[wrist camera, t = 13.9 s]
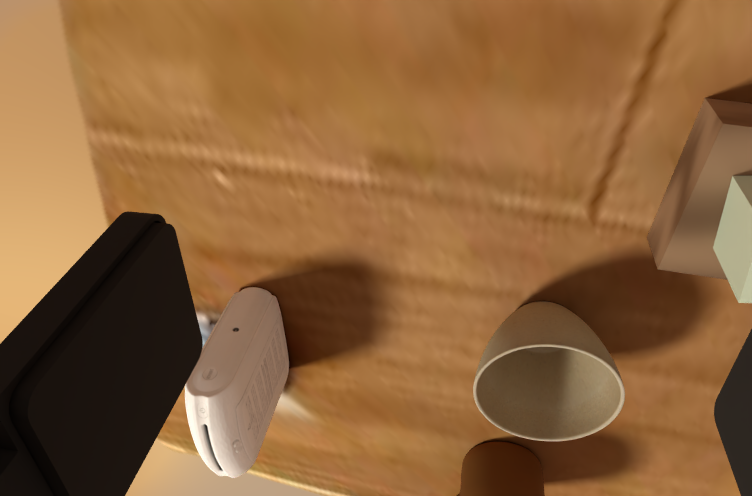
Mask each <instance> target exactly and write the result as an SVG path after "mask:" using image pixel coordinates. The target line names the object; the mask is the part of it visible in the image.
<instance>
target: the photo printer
mask: <svg viewBox="0 0 752 496" xmlns="http://www.w3.org/2000/svg"><path fill="white" fill-rule="evenodd" d="M288 371H289V357H288V350H287V344H286V338H285V332H284V327H283V321H282V316H281V312H280V308H279V304H278V301H277V298H276V296H274V295H271V293H270V292H269V291H267V290H264V289H261V288H257V287H249V288H245V289H243V290H241V291H240V292H236V293H234V295H233V296H232V297H231V299H230V301H229V302H228V304H227V306H226V307H225V309H224V311H223V313H222V315H221V316H220V318H219V320H218V322H217V323H216V325H215V327H214V329H213V331H212V332H211V334H210V336H209V338H208V339H207V341H206V343H205V345H204V347H203V348H202V352H201V355H200V358H199V360H198V362H197V364H196V366H195V368H194V370H193V371H192V373H191V375H190V377H189V379H188V381H187V382H186V385H185V404H186V411H187V417H188V422H189V426H190V430H191V434H192V437H193V440H194V443H195V445H196V448H197V450H198V452H199V454H200V456H201V457H202V459H203V461H204V462H205V463H206V465H207V466H208V467H209V468H210V469H211V470H212V471H213V472H214V473H216V474H217V475H219V476H229V477H231V478H236V477H238V476H240V475H242V474H244V473H245V472H247V471H248V470H249V469H250V468H251V467H252V465H253V464H254V462H255V461H256V458H257V456H258V453H259V451H260V448H261V445H262V443H263V440H264V437H265V435H266V432H267V429H268V427H269V424H270V421H271V419H272V416H273V414H274V411H275V408H276V406H277V403H278V400H279V398H280V395H281V393H282V390H283V387H284V385H285V382H286V380H287V376H288Z"/></svg>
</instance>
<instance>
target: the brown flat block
mask: <svg viewBox="0 0 752 496" xmlns="http://www.w3.org/2000/svg"><path fill="white" fill-rule="evenodd" d="M732 176H752V103H743V102H735V101H727V100H719V99H711V98H705V99H704V101H703V103H702V106H701V108H700V111H699V113H698V116H697V118H696V120H695V123H694V125H693V128H692V130H691V132H690V135H689V137H688V140H687V142H686V144H685V147H684V149H683V152H682V154H681V156H680V159H679V161H678V164H677V166H676V168H675V171H674V173H673V176H672V178H671V180H670V183H669V185H668V188H667V190H666V192H665V195H664V197H663V200H662V202H661V204H660V207H659V209H658V212H657V214H656V216H655V219H654V221H653V224H652V226H651V228H650V231H649V233H648V236H647V240H648V242H649V245H650V248H651V251H652V254H653V257H654V260H655V263H656V266H657V269H658V270H665V271H672V272H679V273H685V274H692V275H699V276H706V277H712V278H719V279H726V280H728V279H727V277H726V275H725V273H724V271H723V269H722V266H721V264H720V262H719V260H718V258H717V256H716V254H715V252H714V249H713V246H714V242H715V239H716V235H717V231H718V227H719V224H720V220H721V216H722V213H723V209H724V205H725V202H726V198H727V194H728V190H729V187H730V183H731V179H732Z"/></svg>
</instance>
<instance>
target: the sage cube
mask: <svg viewBox="0 0 752 496" xmlns="http://www.w3.org/2000/svg"><path fill="white" fill-rule="evenodd" d="M713 249H714V252H715V254H716V256H717V258H718V260H719V262H720V264H721V266H722V269H723V271H724V273H725V275H726V277H727V279H728V281H729V283H730V286H731V288H732V290H733V292H734V294H735V296H736V298H737V300H738V303H752V176H732V179H731V183H730V187H729V190H728V194H727V198H726V202H725V205H724V209H723V213H722V216H721V220H720V224H719V227H718V231H717V235H716V239H715V242H714V246H713Z"/></svg>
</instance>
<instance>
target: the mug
mask: <svg viewBox="0 0 752 496" xmlns="http://www.w3.org/2000/svg"><path fill="white" fill-rule="evenodd" d="M457 496H545V495H544V481H543V472H542V467H541V464H540V462H539V460H538V459H537V457H536V456H535V455H534V454H533V453H532V452H531V451H529V450H528V449H526V448H524V447H522V446H520V445H517V444H513V443H509V442H488V443H483V444H480V445H478V446H476V447H474V448H472V449H471V450H470V451H469V452H468V453H467V454H466V456H465V458H464V460H463V464H462V473H461V490H460V493H459V494H458V495H457Z"/></svg>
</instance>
